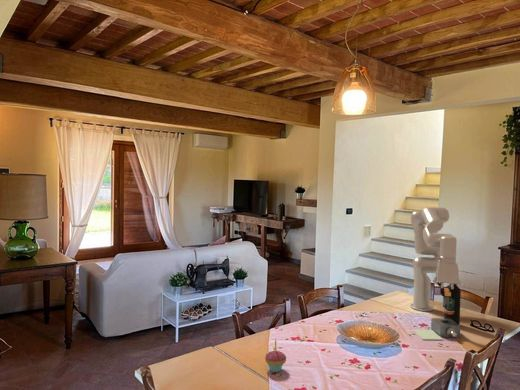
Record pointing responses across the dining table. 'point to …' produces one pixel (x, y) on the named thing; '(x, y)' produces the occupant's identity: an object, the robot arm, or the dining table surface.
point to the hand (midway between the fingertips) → (446, 295)
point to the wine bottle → (454, 305)
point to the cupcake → (275, 360)
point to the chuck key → (446, 297)
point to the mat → (427, 335)
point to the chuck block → (445, 327)
